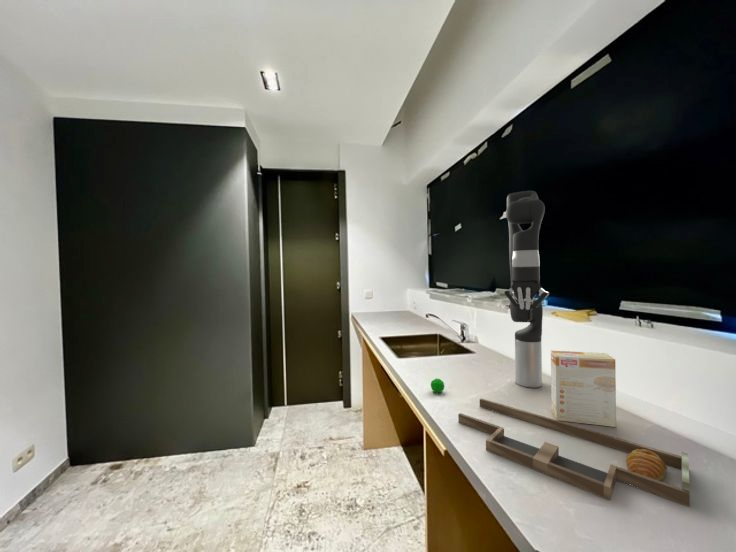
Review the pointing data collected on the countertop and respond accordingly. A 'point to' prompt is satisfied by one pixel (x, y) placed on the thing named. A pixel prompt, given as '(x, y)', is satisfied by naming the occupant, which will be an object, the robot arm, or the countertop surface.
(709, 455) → the countertop surface
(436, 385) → the polyhedron
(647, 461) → the pastry
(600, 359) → the coffeecake box
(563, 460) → the mats
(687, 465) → the lane
